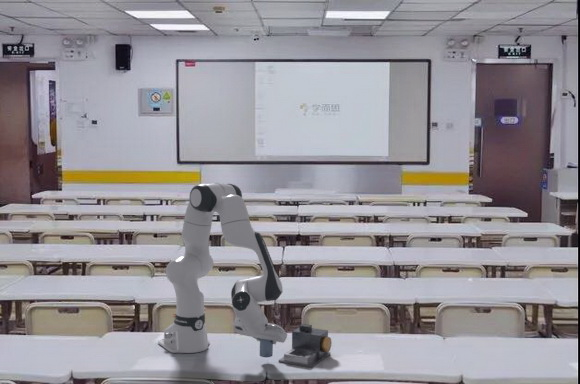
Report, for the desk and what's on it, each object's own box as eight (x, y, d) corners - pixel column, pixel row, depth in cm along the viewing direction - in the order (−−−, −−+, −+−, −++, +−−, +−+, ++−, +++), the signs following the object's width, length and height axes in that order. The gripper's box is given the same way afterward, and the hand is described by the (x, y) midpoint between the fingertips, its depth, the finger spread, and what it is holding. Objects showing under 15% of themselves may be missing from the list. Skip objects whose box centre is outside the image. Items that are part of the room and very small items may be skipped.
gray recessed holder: (278, 362, 289) (278, 332, 287) (298, 349, 305) (299, 320, 303) (313, 368, 282) (314, 337, 281) (332, 354, 298) (333, 325, 297)
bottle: (256, 354, 287) (257, 324, 286) (266, 352, 291) (267, 322, 289) (265, 358, 284) (266, 327, 282) (275, 355, 287) (276, 325, 286)
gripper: (283, 319, 275) (294, 338, 284) (235, 311, 284) (247, 329, 293) (277, 334, 271) (288, 353, 281) (228, 325, 280) (241, 343, 290)
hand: (267, 341), depth 287 cm, fingers closed on bottle, 5 cm apart
